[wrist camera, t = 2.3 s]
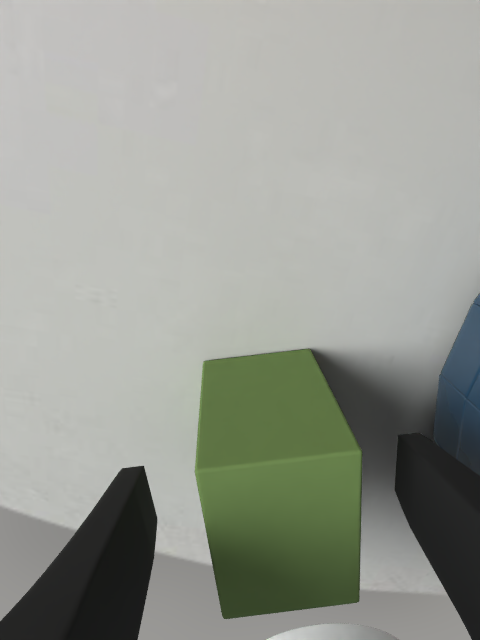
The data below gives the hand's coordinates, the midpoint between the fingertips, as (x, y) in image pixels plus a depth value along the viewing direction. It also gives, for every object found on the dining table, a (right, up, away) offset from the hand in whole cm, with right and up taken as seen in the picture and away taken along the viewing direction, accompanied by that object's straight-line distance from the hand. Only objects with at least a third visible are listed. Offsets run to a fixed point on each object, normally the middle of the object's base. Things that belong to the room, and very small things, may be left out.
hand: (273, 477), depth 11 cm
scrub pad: (0, +1, +3) cm, 3 cm away
